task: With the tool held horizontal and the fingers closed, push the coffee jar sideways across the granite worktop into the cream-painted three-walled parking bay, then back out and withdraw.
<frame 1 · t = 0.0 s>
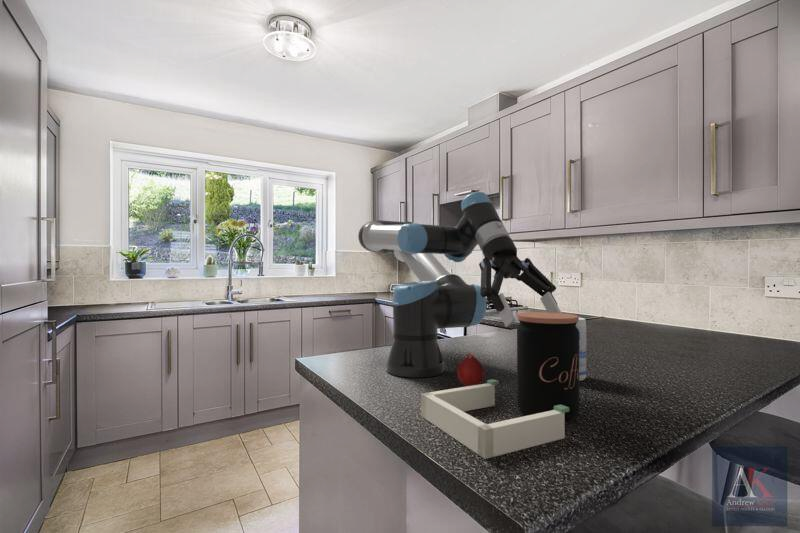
hand: (535, 322, 83), 15 cm above the countertop, tool tilted 35°, fingers open, 13 cm apart
parking bay: (491, 425, 66), on the countertop
onion: (470, 390, 86), on the countertop
supplement tub: (565, 378, 96), on the countertop
coffee jar: (547, 414, 71), on the countertop
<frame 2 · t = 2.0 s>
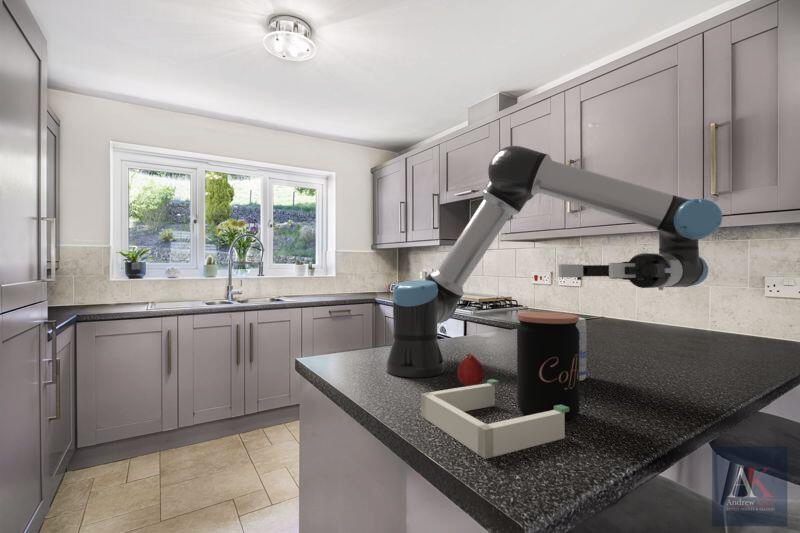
hand: (583, 270, 76), 26 cm above the countertop, tool horizontal, fingers open, 11 cm apart
nothing on the countertop moved.
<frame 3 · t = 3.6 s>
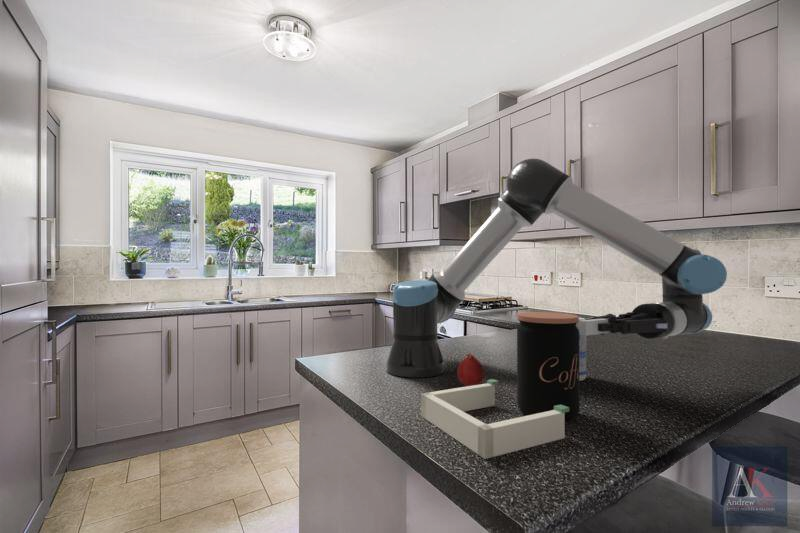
hand: (582, 328, 75), 15 cm above the countertop, tool horizontal, fingers closed
nothing on the countertop moved.
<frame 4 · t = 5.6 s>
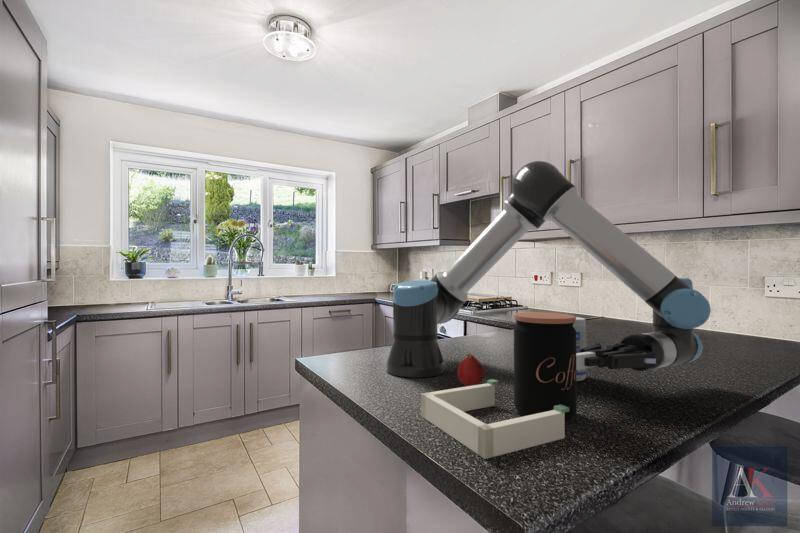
hand: (568, 362, 73), 9 cm above the countertop, tool horizontal, fingers closed
coffee jar: (544, 415, 71), on the countertop, touching gripper
everything else where it was.
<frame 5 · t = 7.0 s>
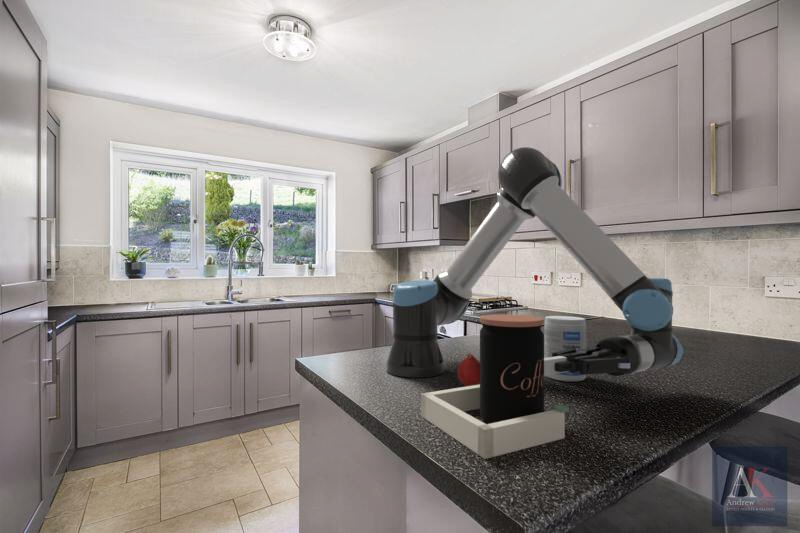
hand: (537, 367, 69), 9 cm above the countertop, tool horizontal, fingers closed
coffee jar: (511, 423, 67), on the countertop, touching gripper
everything else where it was.
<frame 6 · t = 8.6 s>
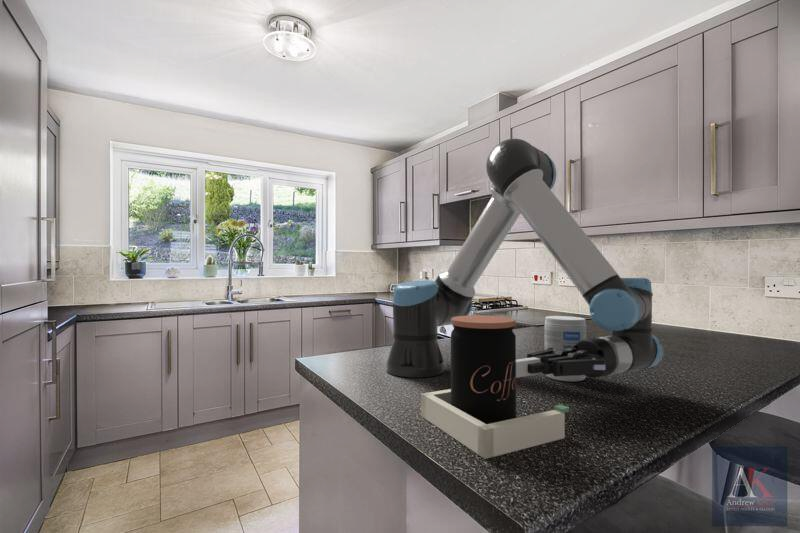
hand: (509, 369, 68), 9 cm above the countertop, tool horizontal, fingers closed
coffee jar: (482, 427, 65), on the countertop, touching gripper
everything else where it was.
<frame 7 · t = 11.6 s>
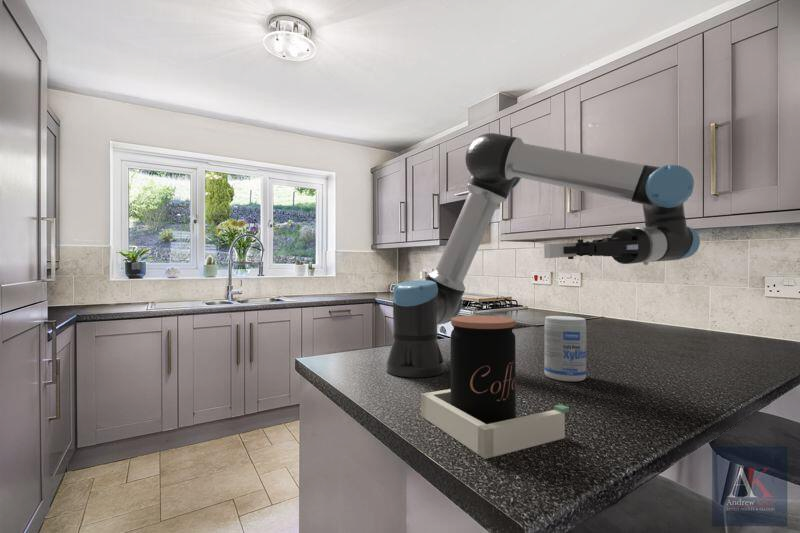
hand: (547, 251, 76), 30 cm above the countertop, tool horizontal, fingers closed
coffee jar: (482, 427, 65), on the countertop
everything else where it was.
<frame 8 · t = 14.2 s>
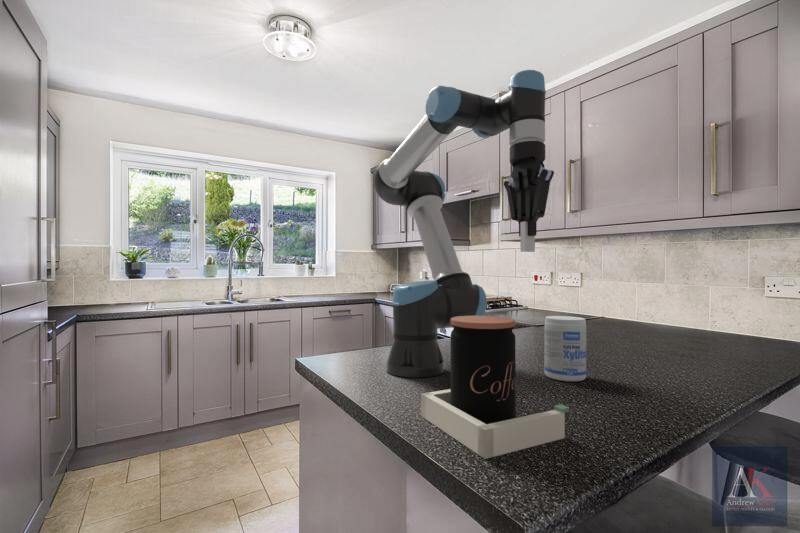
hand: (527, 251, 86), 30 cm above the countertop, tool pointing down, fingers closed
nothing on the countertop moved.
at the end: coffee jar inside the target area (0.9 cm from its centre), on the countertop; coffee jar tilted 0° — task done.
